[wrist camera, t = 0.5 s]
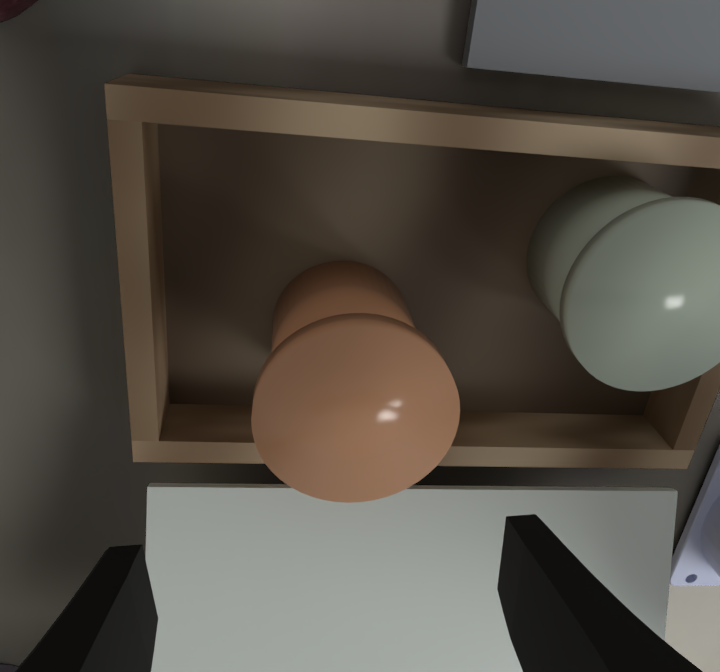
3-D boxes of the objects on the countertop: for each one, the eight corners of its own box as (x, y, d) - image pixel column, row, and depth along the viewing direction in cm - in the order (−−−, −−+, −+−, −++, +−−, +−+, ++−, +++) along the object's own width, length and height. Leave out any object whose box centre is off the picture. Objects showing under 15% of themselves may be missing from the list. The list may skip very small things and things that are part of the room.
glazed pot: (705, 172, 20) (801, 210, 16) (653, 329, 22) (726, 394, 18) (538, 159, 19) (598, 195, 15) (502, 323, 21) (547, 388, 18)
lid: (651, 776, 23) (645, 768, 23) (678, 491, 22) (671, 487, 22) (139, 804, 21) (141, 795, 21) (147, 487, 20) (149, 483, 20)
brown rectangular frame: (755, 130, 20) (904, 169, 15) (593, 585, 28) (654, 701, 24) (128, 73, 17) (68, 98, 13) (159, 590, 26) (131, 722, 21)
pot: (430, 253, 20) (477, 331, 15) (409, 395, 22) (443, 503, 17) (261, 243, 19) (253, 322, 14) (257, 390, 22) (249, 502, 17)
